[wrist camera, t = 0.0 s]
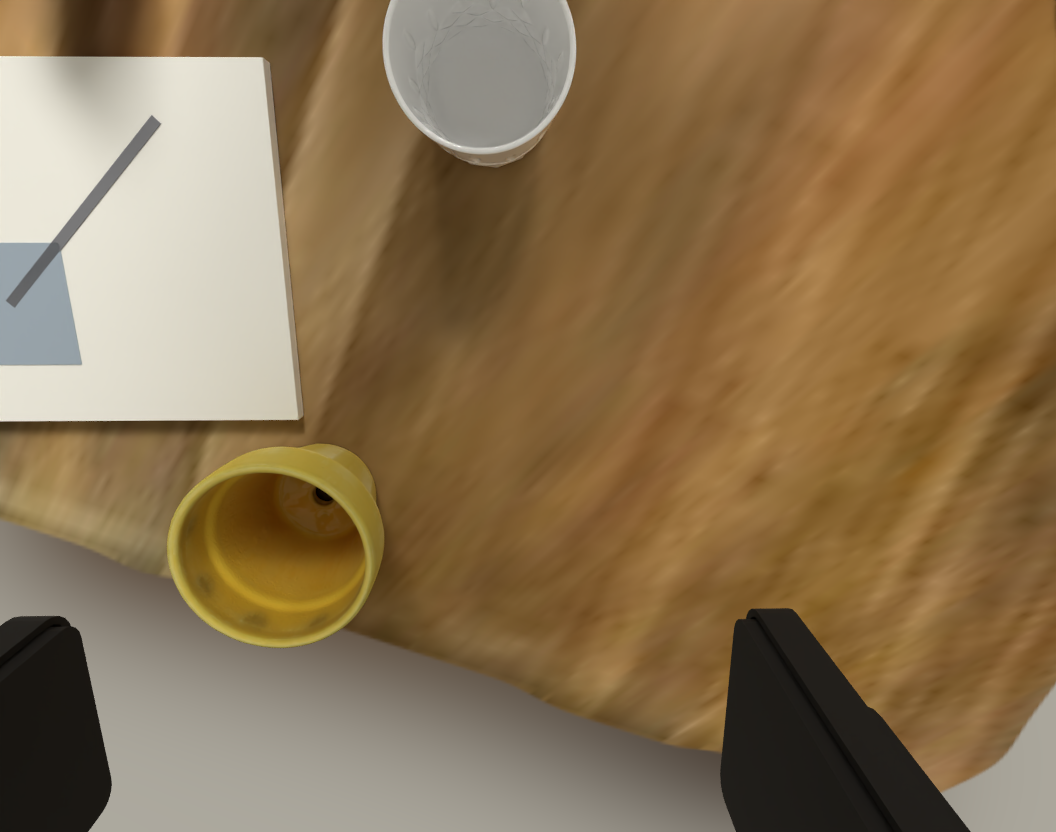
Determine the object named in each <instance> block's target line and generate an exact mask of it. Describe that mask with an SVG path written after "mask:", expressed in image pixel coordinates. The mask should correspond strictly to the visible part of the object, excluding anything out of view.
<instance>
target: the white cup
mask: <svg viewBox="0 0 1056 832" xmlns="http://www.w3.org/2000/svg"><path fill="white" fill-rule="evenodd" d="M383 59H384V65H385V70H386V74H387V78H388V81H389V84H390V87H391V89H392V92H393V94H394V96H395V98H396V100H397V102H398V104H399V105H400V107H401V108H402V110H403V111H404V113H405V114H406V115H407V117H408V118H409V119H410V120H411V122H412V123H413V124H414V125H415V126H416V127H417V128H418V129H419V130H420V131H422V132H423V133H424V134H425V135H427V136H428V137H429V138H430V139H432V140H433V141H434V142H435V143H436V144H438V145H439V146H440V147H441V148H443V149H444V150H446V151H447V152H448V153H450V154H452V155H454V156H455V157H457V158H459V159H461V160H463V161H466V162H468V163H469V164H472V165H480V166H488V167H495V168H497V167H500V166H503V165H505V164H508V163H511V162H514V161H516V160H519V159H522V158H523V157H524V156H525V155H526V154H527V153H528V152H529V151H530V150H531V149H532V148H533V147H535V146H536V145H537V143H538V142H539V141H540V140H541V139H542V137H543V136H544V134H545V133H546V132H547V130H548V129H549V127H550V126H551V124H552V122H553V120H554V119H555V117H556V115H557V113H558V111H559V110H560V108H561V106H562V104H563V102H564V101H565V98H566V96H567V94H568V91H569V89H570V86H571V83H572V79H573V75H574V70H575V63H576V35H575V28H574V23H573V19H572V15H571V12H570V9H569V6H568V4H567V1H566V0H391V1H390V4H389V6H388V10H387V13H386V17H385V22H384V28H383Z"/></svg>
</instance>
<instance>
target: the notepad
mask: <svg viewBox="0 0 1056 832" xmlns="http://www.w3.org/2000/svg"><path fill="white" fill-rule="evenodd" d="M303 416H304V414H303V403H302V393H301V383H300V372H299V362H298V351H297V341H296V331H295V320H294V310H293V299H292V289H291V279H290V268H289V258H288V247H287V237H286V227H285V216H284V206H283V196H282V185H281V175H280V164H279V154H278V144H277V133H276V123H275V112H274V102H273V92H272V81H271V71H270V63H269V62H268V61H267V60H265V59H264V58H260V57H40V56H0V421H159V420H299V419H300V418H301V417H303Z"/></svg>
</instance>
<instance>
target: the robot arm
mask: <svg viewBox="0 0 1056 832" xmlns="http://www.w3.org/2000/svg"><path fill="white" fill-rule="evenodd" d="M720 776H721V787H722V792H723V797H724V800H725V803H726V806H727V809H728V811H729V814H730V817H731V819H732V822H733V825H734V827H735V830H736V832H970V830H969V829H968V828H967V827H966V825H965V824H964V823H963V821H962V820H961V819H960V818H959V816H958V815H957V814H956V813H955V811H954V810H953V809H952V807H951V806H950V805H949V803H948V802H947V801H946V800H945V798H944V797H943V796H942V794H941V793H940V792H939V790H938V789H937V788H936V787H935V785H934V784H933V783H932V781H931V780H930V779H929V778H928V776H927V775H926V774H925V772H924V771H923V770H922V769H921V767H920V766H919V765H918V763H917V762H916V761H915V759H914V758H913V757H912V756H911V754H910V753H909V752H908V750H907V749H906V748H905V747H904V745H903V744H902V743H901V741H900V740H899V739H898V738H897V736H896V735H895V734H894V732H893V731H892V730H891V729H890V727H889V726H888V725H887V723H886V722H885V721H884V719H883V718H882V717H881V716H880V715H879V714H878V713H877V712H876V711H875V710H874V709H872V708H870V707H867V705H866V704H865V703H864V701H863V700H862V699H861V697H860V696H859V695H858V693H857V692H856V691H855V689H854V688H853V687H852V686H851V684H850V683H849V682H848V680H847V679H846V678H845V676H844V675H843V674H842V672H841V671H840V670H839V668H838V667H837V666H836V665H835V663H834V662H833V661H832V659H831V658H830V657H829V655H828V654H827V653H826V651H825V650H824V649H823V648H822V646H821V645H820V644H819V642H818V641H817V640H816V638H815V637H814V636H813V634H812V633H811V632H810V630H809V629H808V628H807V627H806V625H805V624H804V623H803V621H802V620H801V619H800V617H799V616H798V615H797V613H796V612H795V611H793V610H792V609H789V608H782V609H751V610H749V612H748V614H747V617H746V619H738V620H737V621H736V623H735V627H734V635H733V645H732V656H731V666H730V676H729V687H728V697H727V708H726V718H725V729H724V739H723V749H722V760H721V773H720ZM111 786H112V783H111V775H110V770H109V766H108V761H107V756H106V752H105V747H104V742H103V738H102V733H101V728H100V723H99V718H98V714H97V710H96V705H95V700H94V695H93V690H92V686H91V681H90V676H89V672H88V667H87V662H86V657H85V652H84V648H83V643H82V638H81V635H80V632H79V631H78V630H77V629H76V628H74V627H71V626H70V623H69V622H68V621H67V620H66V619H65V618H63V617H60V616H24V617H23V616H21V617H14V618H12V619H10V620H8V621H6V622H5V623H4V624H2V625H1V626H0V832H88V831H89V830H90V828H91V827H92V826H93V824H94V823H95V821H96V820H97V819H98V817H99V816H100V815H101V813H102V812H103V810H104V808H105V807H106V805H107V802H108V800H109V797H110V793H111Z"/></svg>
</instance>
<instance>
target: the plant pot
mask: <svg viewBox="0 0 1056 832" xmlns="http://www.w3.org/2000/svg"><path fill="white" fill-rule="evenodd" d="M317 487H318V488H319V489H321V490H322V491H324V492H325V493H327V494H328V495H329V496H331V497H332V498H333V500H331V501H323V500H321V499H319V498H318V497H317V495H316V488H317ZM383 551H384V528H383V523H382V518H381V515H380V512H379V509H378V507H377V505H376V487H375V483H374V479H373V477H372V475H371V473H370V471H369V469H368V468H367V466H366V465H365V464H364V463H363V461H362V460H361V459H360V458H359V457H357V456H356V455H355V454H353V453H352V452H350V451H349V450H346V449H344V448H342V447H339V446H335V445H331V444H312V445H307V446H303V447H300V448H295V447H269V448H263V449H259V450H255V451H252V452H249V453H246V454H243V455H241V456H239V457H237V458H235V459H234V460H232V461H230V462H228V463H227V464H225V465H223V466H222V467H220V468H219V469H217V470H216V471H214V472H213V473H212V474H210V475H209V476H207V477H206V478H205V479H203V480H202V481H201V482H199V483H198V484H197V485H196V486H195V487H194V488H193V489H192V490H191V491H190V492H189V493H188V494H187V495H186V496H185V497H184V499H183V500H182V502H181V503H180V505H179V506H178V508H177V510H176V512H175V514H174V516H173V518H172V521H171V524H170V528H169V532H168V539H167V557H168V563H169V568H170V571H171V574H172V577H173V580H174V582H175V584H176V587H177V589H178V590H179V592H180V594H181V596H182V597H183V599H184V600H185V602H186V603H187V604H188V606H189V607H190V608H191V609H192V610H193V611H194V612H195V613H196V614H197V615H198V616H199V617H200V618H201V619H202V620H203V621H204V622H206V623H207V624H208V625H210V626H211V627H212V628H214V629H215V630H217V631H219V632H220V633H222V634H224V635H226V636H228V637H230V638H233V639H235V640H238V641H241V642H243V643H247V644H252V645H256V646H261V647H269V648H288V647H289V648H290V647H298V646H303V645H307V644H311V643H314V642H317V641H320V640H322V639H325V638H326V637H329V636H330V635H332V634H334V633H335V632H337V631H339V630H340V629H342V628H343V627H344V626H346V625H347V624H348V623H349V622H350V621H351V620H352V619H353V618H354V617H355V616H356V615H357V614H358V612H359V611H360V609H361V608H362V607H363V605H364V604H365V602H366V600H367V598H368V596H369V594H370V592H371V589H372V587H373V585H374V582H375V580H376V577H377V574H378V571H379V568H380V564H381V561H382V557H383Z"/></svg>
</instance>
